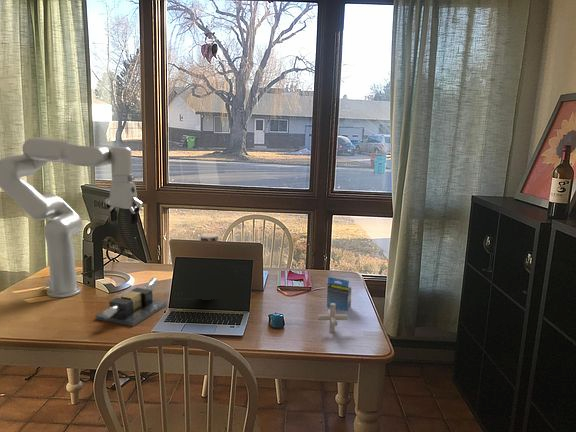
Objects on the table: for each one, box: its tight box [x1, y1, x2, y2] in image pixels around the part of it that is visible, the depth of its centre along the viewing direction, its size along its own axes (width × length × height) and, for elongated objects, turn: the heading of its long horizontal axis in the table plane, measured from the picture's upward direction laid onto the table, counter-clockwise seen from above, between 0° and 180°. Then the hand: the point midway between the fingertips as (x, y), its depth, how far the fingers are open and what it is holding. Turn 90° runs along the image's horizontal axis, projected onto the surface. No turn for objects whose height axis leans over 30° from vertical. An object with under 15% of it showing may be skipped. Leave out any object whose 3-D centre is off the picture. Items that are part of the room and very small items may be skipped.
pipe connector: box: [317, 303, 348, 333], centre depth 163 cm, size 10×10×10 cm
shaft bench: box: [95, 277, 167, 327], centre depth 175 cm, size 16×29×9 cm, turn 160°
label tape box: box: [326, 276, 352, 311], centre depth 184 cm, size 9×4×12 cm, turn 62°
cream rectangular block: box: [120, 290, 142, 313], centre depth 175 cm, size 4×6×7 cm
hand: (124, 222), depth 187 cm, fingers open, 9 cm apart
